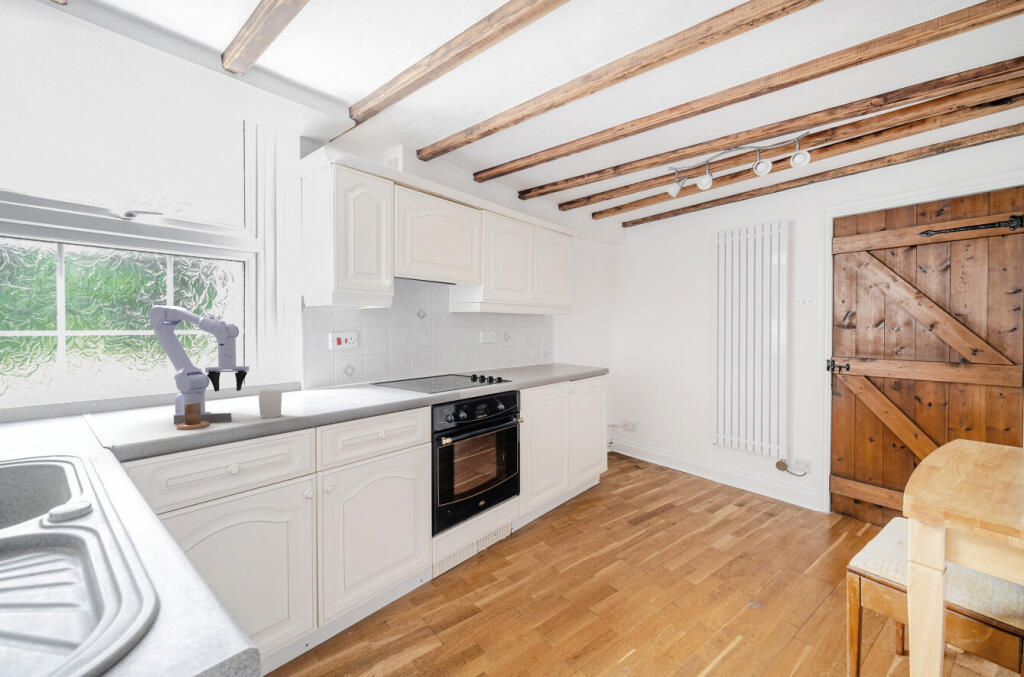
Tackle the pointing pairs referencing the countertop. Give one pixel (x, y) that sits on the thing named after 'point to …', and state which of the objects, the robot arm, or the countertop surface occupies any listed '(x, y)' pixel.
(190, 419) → the walnut peg
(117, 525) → the countertop surface
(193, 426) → the terracotta coaster
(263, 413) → the white cup
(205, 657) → the countertop surface
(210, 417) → the smoky grey fence
